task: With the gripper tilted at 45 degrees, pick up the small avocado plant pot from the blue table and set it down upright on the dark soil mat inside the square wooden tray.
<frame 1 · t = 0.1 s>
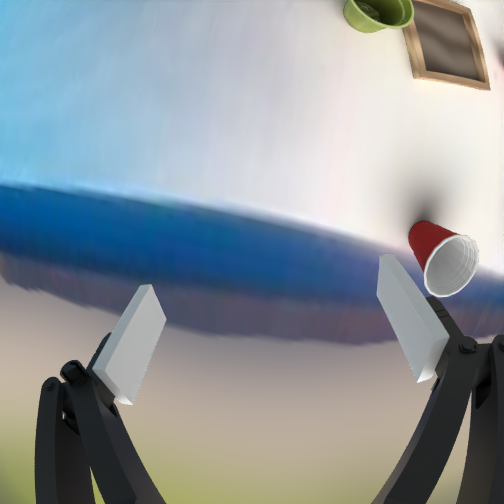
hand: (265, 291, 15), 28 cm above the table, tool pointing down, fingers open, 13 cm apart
plastic cup: (419, 234, 43), on the table
plant pot: (361, 17, 26), on the table
square wooden tray: (442, 39, 25), on the table
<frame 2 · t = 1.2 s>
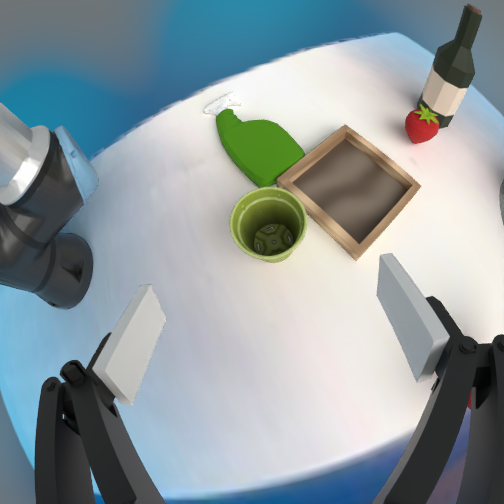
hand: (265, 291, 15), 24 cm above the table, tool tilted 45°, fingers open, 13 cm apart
strawberry: (413, 142, 43), on the table
plant pot: (273, 243, 41), on the table
wine bottle: (432, 115, 44), on the table
spray bottle: (247, 136, 48), on the table
square wooden tray: (351, 188, 42), on the table
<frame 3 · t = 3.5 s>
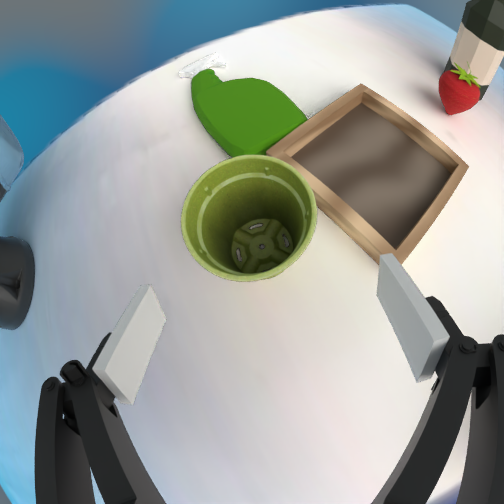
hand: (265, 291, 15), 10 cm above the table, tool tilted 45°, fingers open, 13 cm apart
strawberry: (447, 113, 28), on the table
plant pot: (261, 249, 27), on the table
wine bottle: (462, 86, 29), on the table
spray bottle: (230, 100, 34), on the table
square wooden tray: (375, 167, 27), on the table
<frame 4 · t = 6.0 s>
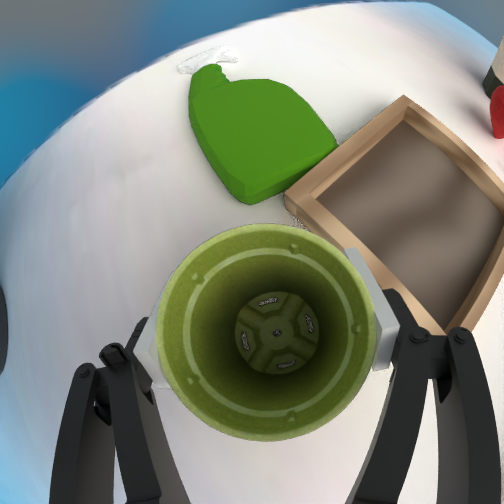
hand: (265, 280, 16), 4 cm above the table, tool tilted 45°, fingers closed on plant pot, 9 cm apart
strawberry: (494, 136, 20), on the table
plant pot: (276, 333, 19), on the table, touching gripper
wine bottle: (502, 101, 22), on the table
spray bottle: (237, 106, 26), on the table
square wooden tray: (425, 213, 19), on the table
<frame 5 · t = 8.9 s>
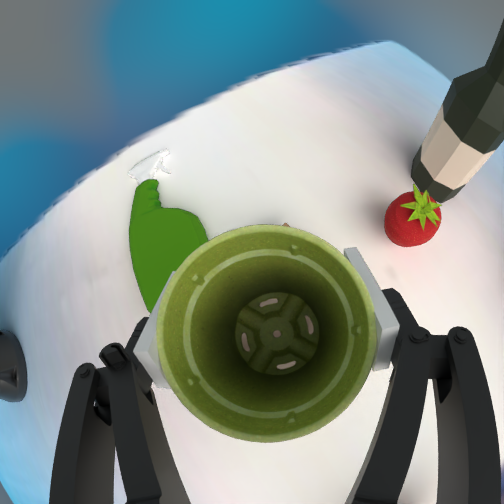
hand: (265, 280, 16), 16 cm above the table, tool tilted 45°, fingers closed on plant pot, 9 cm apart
strawberry: (397, 235, 31), on the table
plant pot: (276, 334, 19), point 12 cm above the table, touching gripper
wine bottle: (433, 178, 33), on the table
spray bottle: (164, 225, 37), on the table
square wooden tray: (282, 330, 30), on the table
when the fingers open (5 cm above the table, at t = 11.9 s): plant pot stays where it is, resting on square wooden tray.
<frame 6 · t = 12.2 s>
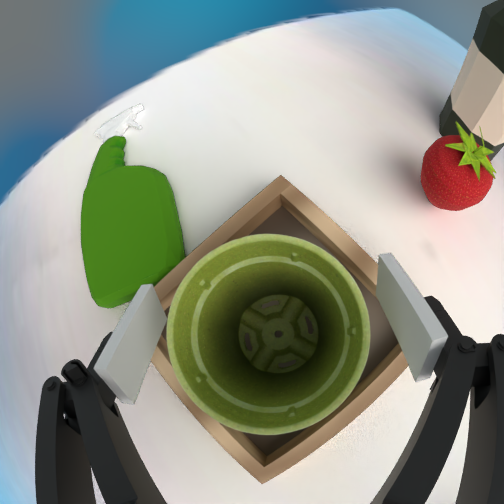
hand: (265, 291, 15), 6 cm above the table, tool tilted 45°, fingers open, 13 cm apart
strawberry: (433, 201, 21), on the table
plant pot: (277, 334, 20), resting on square wooden tray
wine bottle: (465, 138, 22), on the table
spray bottle: (127, 190, 27), on the table
square wooden tray: (277, 333, 20), on the table
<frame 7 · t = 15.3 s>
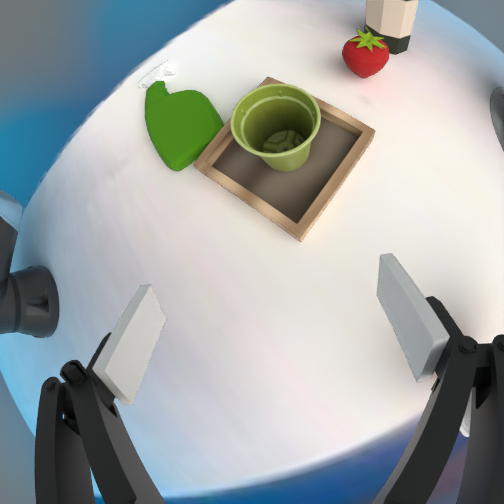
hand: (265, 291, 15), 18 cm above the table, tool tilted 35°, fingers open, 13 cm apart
strawberry: (363, 76, 33), on the table
plant pot: (285, 152, 34), resting on square wooden tray
wine bottle: (385, 40, 32), on the table
spray bottle: (174, 109, 40), on the table
square wooden tray: (285, 152, 34), on the table
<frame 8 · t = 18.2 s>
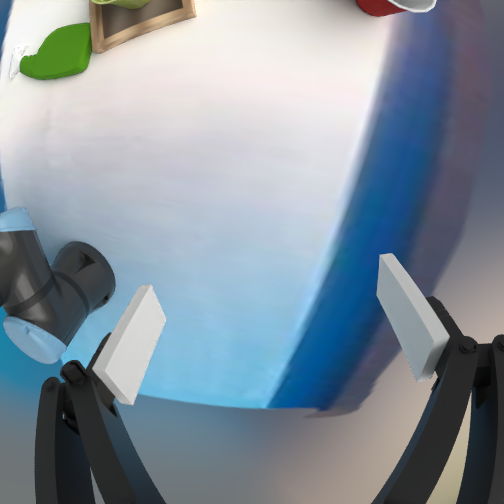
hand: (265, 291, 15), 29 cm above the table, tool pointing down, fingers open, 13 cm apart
plastic cup: (372, 4, 25), on the table
spray bottle: (49, 55, 29), on the table
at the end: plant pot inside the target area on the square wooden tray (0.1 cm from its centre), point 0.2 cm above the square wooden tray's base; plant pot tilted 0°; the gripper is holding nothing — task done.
